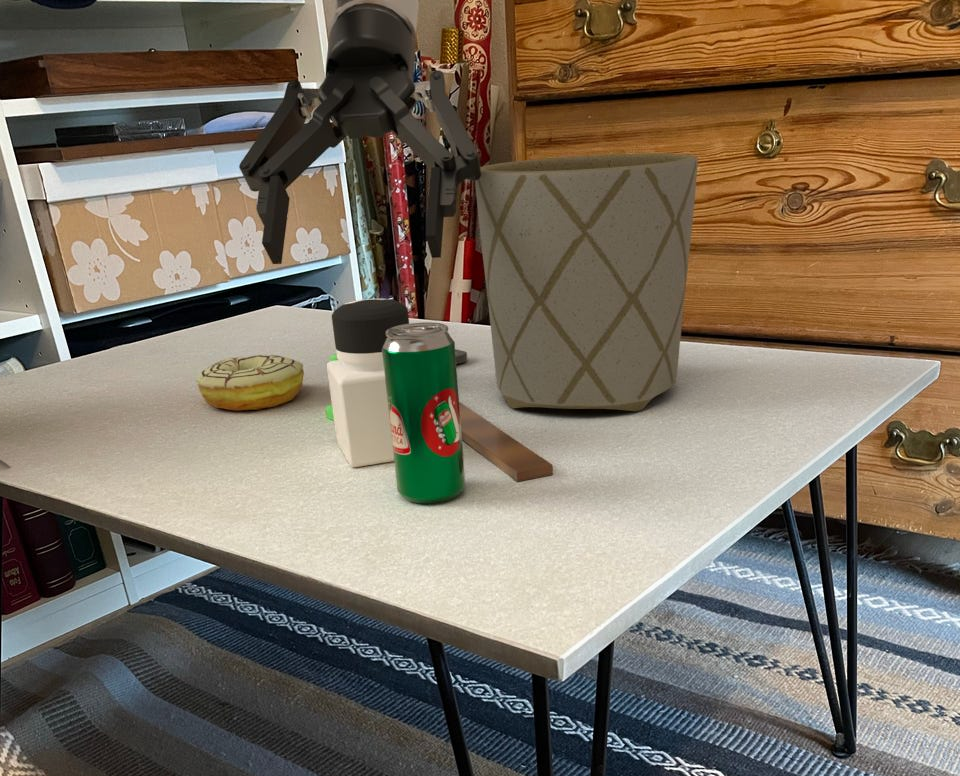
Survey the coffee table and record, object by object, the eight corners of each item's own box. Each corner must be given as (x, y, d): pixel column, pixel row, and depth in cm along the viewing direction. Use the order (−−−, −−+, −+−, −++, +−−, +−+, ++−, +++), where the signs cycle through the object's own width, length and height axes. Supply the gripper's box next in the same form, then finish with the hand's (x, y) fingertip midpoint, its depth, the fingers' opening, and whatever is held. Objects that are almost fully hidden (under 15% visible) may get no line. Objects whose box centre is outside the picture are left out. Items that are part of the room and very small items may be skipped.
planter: (515, 366, 104) (506, 159, 95) (696, 369, 99) (707, 149, 90) (461, 418, 89) (445, 175, 79) (674, 425, 83) (685, 165, 74)
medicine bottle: (436, 455, 81) (423, 304, 75) (350, 469, 79) (330, 315, 73) (416, 432, 87) (402, 290, 81) (336, 443, 85) (317, 300, 79)
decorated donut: (283, 380, 106) (278, 344, 104) (322, 400, 98) (317, 362, 96) (189, 398, 102) (181, 361, 100) (221, 421, 93) (214, 381, 92)
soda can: (397, 485, 75) (379, 324, 69) (462, 478, 75) (450, 318, 70) (399, 509, 71) (380, 339, 65) (469, 502, 71) (456, 333, 65)
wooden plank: (553, 474, 75) (552, 464, 75) (517, 481, 74) (516, 471, 74) (439, 396, 96) (439, 388, 96) (410, 401, 96) (410, 393, 95)
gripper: (220, 14, 84) (187, 226, 78) (510, -9, 80) (497, 211, 75) (251, 85, 91) (223, 284, 85) (519, 67, 87) (508, 273, 82)
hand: (351, 250), depth 80 cm, fingers open, 13 cm apart
